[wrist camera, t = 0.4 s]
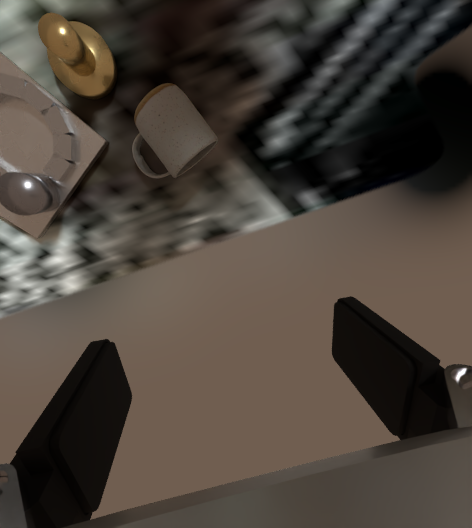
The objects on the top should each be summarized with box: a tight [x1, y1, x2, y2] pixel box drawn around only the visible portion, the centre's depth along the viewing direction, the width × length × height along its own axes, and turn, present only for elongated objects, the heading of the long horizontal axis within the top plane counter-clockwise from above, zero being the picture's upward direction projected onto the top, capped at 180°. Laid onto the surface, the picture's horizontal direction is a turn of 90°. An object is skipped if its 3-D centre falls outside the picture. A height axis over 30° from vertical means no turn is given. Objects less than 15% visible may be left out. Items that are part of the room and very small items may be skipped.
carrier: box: [0, 52, 109, 238], centre depth 28 cm, size 17×14×5 cm
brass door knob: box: [38, 13, 117, 99], centre depth 26 cm, size 7×7×7 cm
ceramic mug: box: [132, 83, 218, 178], centre depth 29 cm, size 11×8×8 cm
